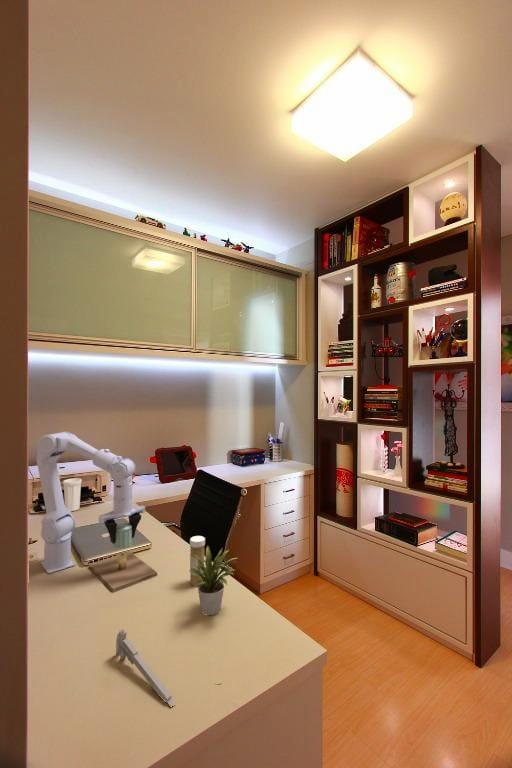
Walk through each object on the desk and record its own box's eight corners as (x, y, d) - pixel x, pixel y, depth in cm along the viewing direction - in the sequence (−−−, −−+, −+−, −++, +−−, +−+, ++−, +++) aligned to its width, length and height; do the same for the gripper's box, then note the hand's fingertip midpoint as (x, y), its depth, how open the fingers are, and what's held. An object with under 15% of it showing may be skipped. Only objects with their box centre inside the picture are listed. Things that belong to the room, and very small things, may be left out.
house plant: (221, 636, 87) (221, 568, 87) (172, 622, 92) (173, 557, 93) (245, 603, 100) (245, 544, 101) (201, 593, 106) (201, 536, 106)
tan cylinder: (117, 568, 118) (117, 553, 118) (124, 565, 120) (124, 551, 120) (120, 570, 116) (120, 555, 116) (127, 568, 118) (127, 553, 118)
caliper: (115, 656, 81) (115, 628, 81) (120, 653, 82) (120, 625, 82) (171, 710, 68) (171, 676, 68) (175, 706, 68) (176, 672, 69)
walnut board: (88, 567, 120) (88, 564, 120) (129, 554, 130) (129, 551, 130) (113, 592, 106) (113, 588, 106) (157, 575, 115) (157, 572, 115)
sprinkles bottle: (207, 583, 111) (207, 539, 111) (193, 588, 108) (193, 542, 108) (200, 577, 115) (201, 534, 115) (187, 581, 112) (187, 537, 112)
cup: (58, 512, 173) (59, 482, 173) (70, 506, 181) (70, 477, 181) (74, 513, 172) (74, 482, 172) (85, 507, 180) (85, 478, 180)
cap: (110, 544, 118) (110, 525, 118) (127, 539, 122) (127, 521, 122) (117, 550, 114) (117, 530, 114) (134, 544, 118) (134, 526, 118)
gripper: (105, 505, 110) (104, 550, 110) (149, 495, 120) (149, 537, 120) (96, 499, 115) (96, 543, 115) (139, 491, 125) (139, 530, 125)
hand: (122, 539), depth 118 cm, fingers closed on cap, 6 cm apart
